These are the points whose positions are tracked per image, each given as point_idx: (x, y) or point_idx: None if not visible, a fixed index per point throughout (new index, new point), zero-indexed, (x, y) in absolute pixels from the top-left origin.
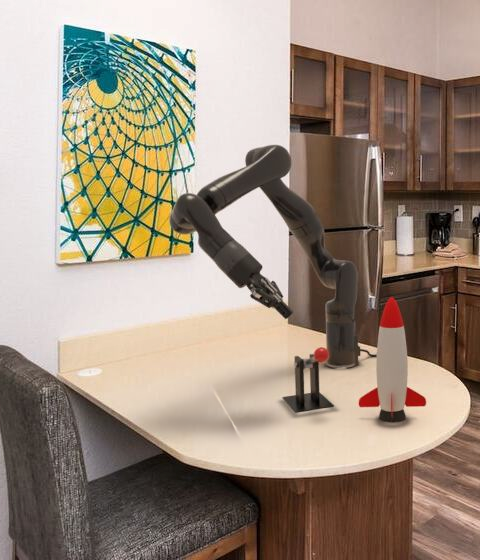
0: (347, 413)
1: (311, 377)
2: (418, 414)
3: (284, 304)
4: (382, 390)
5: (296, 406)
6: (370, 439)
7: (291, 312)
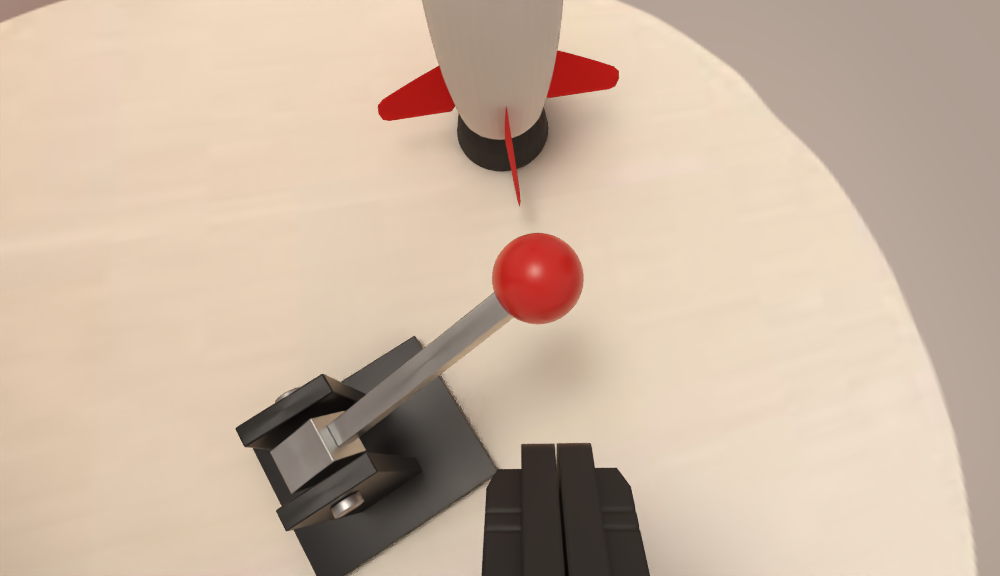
0: (446, 284)
1: None
2: (432, 65)
3: (574, 546)
4: (547, 80)
5: (438, 486)
6: (662, 170)
7: (580, 444)
